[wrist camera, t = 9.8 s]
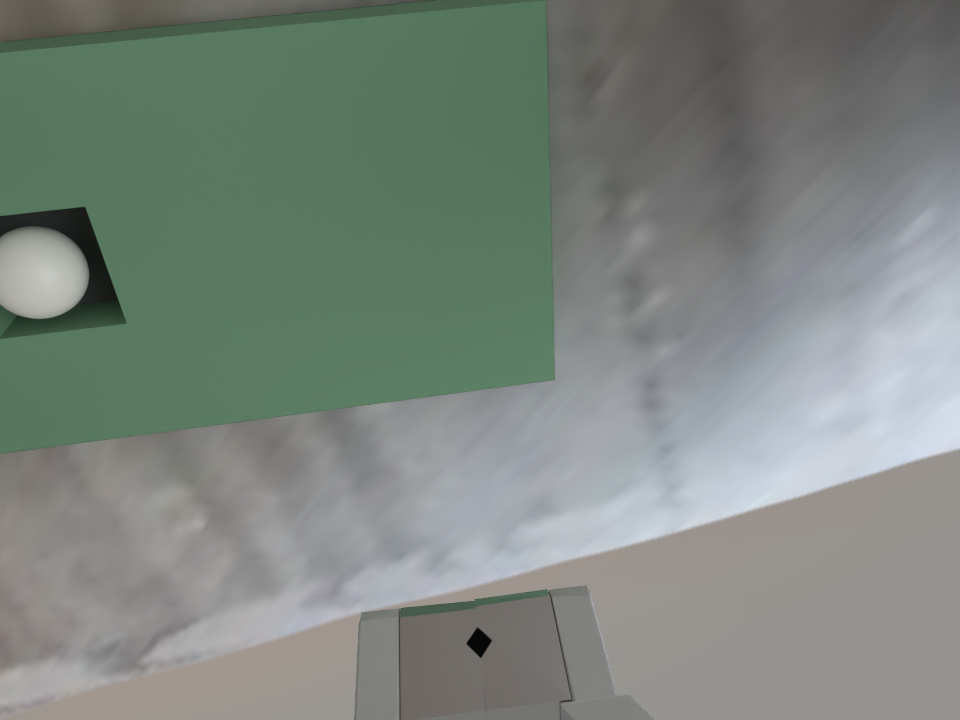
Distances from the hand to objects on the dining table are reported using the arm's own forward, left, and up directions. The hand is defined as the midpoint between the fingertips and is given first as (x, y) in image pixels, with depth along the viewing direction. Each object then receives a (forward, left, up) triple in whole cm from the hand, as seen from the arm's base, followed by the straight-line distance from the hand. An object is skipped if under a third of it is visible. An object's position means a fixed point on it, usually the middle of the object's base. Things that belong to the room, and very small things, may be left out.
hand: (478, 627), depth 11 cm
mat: (+8, +4, -25) cm, 27 cm away
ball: (+15, +4, -23) cm, 28 cm away
